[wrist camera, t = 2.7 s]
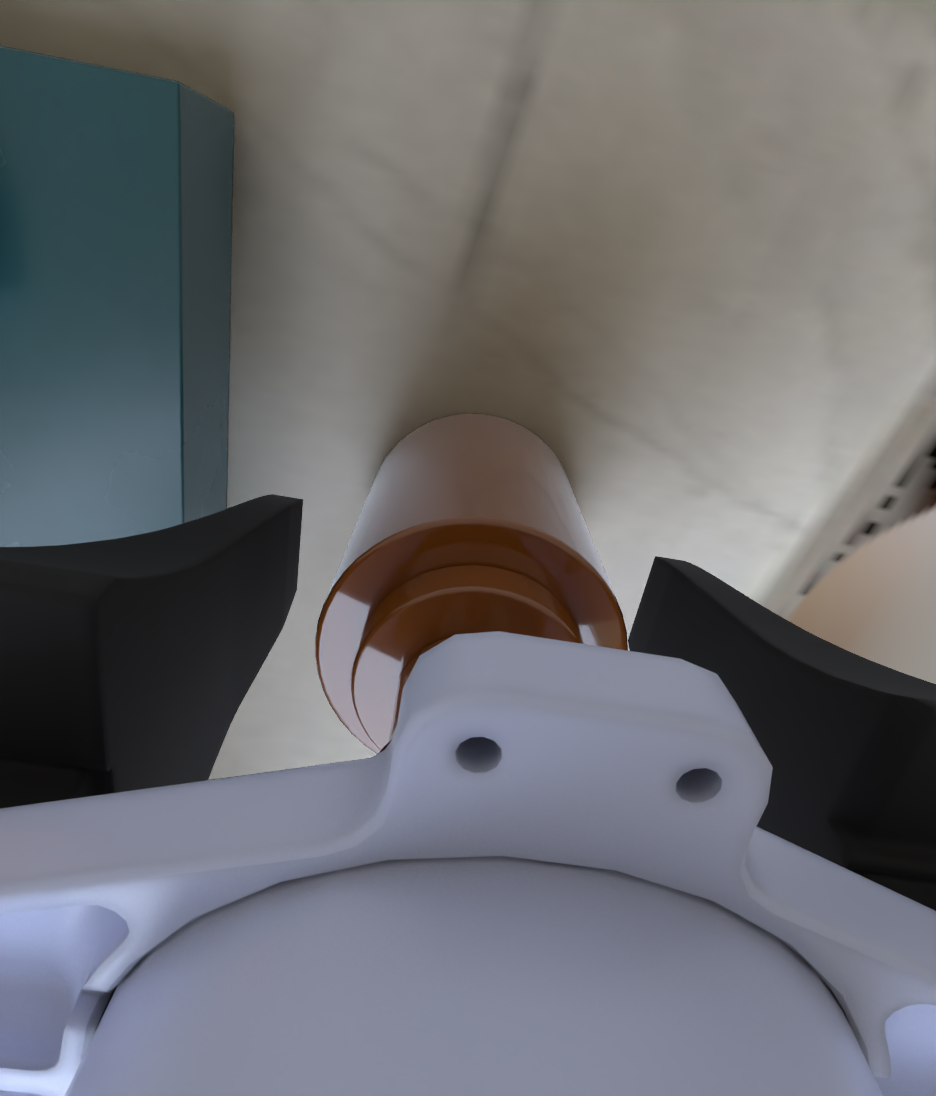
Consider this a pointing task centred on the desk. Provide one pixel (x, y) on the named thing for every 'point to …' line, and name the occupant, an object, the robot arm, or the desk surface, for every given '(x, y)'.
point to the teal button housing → (111, 301)
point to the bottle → (457, 564)
